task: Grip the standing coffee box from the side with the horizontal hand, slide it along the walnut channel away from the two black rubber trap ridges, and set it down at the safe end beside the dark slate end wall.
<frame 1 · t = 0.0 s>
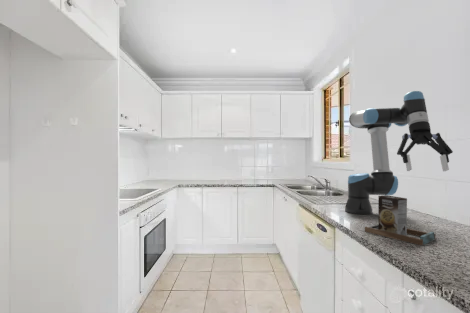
hand: (427, 170, 107), 28 cm above the worktop, tool tilted 20°, fingers open, 13 cm apart
coffee box: (392, 234, 112), resting in trap channel
trap channel: (398, 235, 110), on the worktop
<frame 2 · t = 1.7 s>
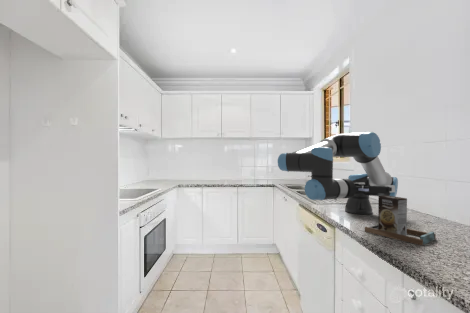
hand: (378, 187, 108), 21 cm above the worktop, tool horizontal, fingers open, 13 cm apart
nothing on the worktop moved.
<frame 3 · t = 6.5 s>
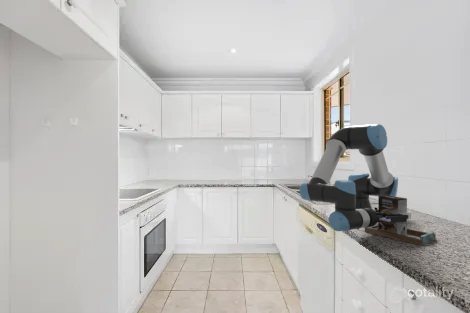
hand: (399, 213, 114), 9 cm above the worktop, tool horizontal, fingers closed on coffee box, 9 cm apart
coffee box: (392, 234, 112), resting in trap channel, touching gripper
when the fingers open (9 cm above the worktop, at t = 10.0 s): coffee box stays where it is, resting in trap channel.
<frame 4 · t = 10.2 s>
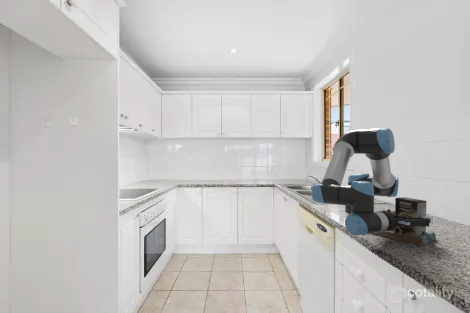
hand: (416, 215, 108), 9 cm above the worktop, tool horizontal, fingers open, 11 cm apart
coffee box: (410, 238, 106), resting in trap channel
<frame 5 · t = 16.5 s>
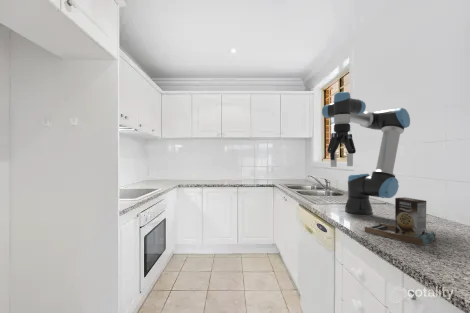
hand: (342, 166, 128), 29 cm above the worktop, tool pointing down, fingers open, 13 cm apart
nothing on the worktop moved.
at the end: coffee box 0.8 cm from the target spot, resting in trap channel; coffee box tilted 0°; the gripper is holding nothing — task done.
